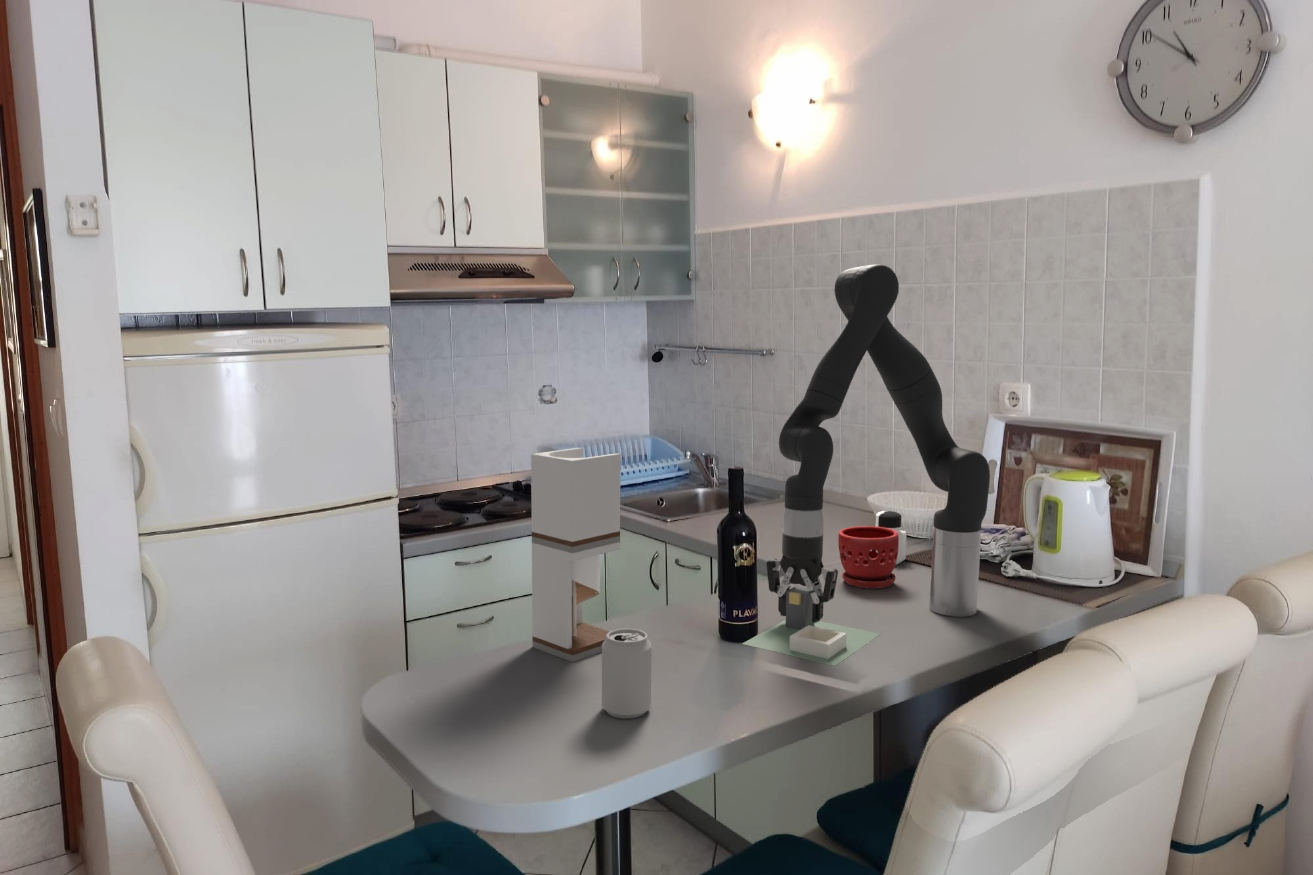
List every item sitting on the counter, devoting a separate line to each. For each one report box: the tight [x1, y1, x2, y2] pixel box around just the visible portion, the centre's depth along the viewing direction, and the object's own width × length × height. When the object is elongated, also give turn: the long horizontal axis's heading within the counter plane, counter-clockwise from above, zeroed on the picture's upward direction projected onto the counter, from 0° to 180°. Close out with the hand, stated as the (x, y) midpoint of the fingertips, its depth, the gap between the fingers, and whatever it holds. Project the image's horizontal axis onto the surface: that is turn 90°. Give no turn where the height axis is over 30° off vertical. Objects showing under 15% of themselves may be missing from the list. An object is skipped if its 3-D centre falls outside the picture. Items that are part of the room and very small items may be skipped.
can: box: [601, 628, 653, 719], centre depth 145 cm, size 8×8×12 cm
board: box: [741, 619, 881, 667], centre depth 175 cm, size 20×18×4 cm
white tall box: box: [530, 447, 622, 663], centre depth 171 cm, size 11×11×35 cm
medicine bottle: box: [870, 510, 907, 566], centre depth 235 cm, size 7×7×12 cm
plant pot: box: [837, 525, 899, 589], centre depth 215 cm, size 13×13×12 cm
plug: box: [785, 585, 814, 630], centre depth 181 cm, size 5×4×7 cm
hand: (800, 617), depth 182 cm, fingers open, 6 cm apart
